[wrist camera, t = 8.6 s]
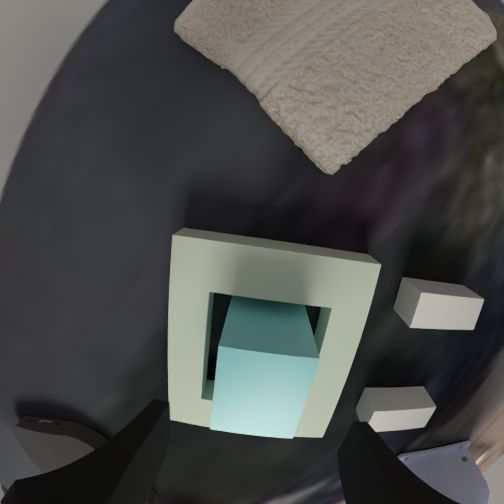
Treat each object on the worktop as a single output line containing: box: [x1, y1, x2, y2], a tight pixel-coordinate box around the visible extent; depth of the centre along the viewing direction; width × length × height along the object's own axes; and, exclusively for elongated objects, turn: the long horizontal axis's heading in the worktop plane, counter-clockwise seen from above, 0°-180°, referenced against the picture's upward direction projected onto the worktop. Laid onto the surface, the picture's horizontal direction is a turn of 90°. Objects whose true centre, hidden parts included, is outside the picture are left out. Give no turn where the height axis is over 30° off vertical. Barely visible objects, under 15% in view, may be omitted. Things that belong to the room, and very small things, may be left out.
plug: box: [210, 295, 320, 439], centre depth 14 cm, size 4×5×6 cm
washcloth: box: [174, 0, 497, 175], centre depth 11 cm, size 12×18×3 cm, turn 133°
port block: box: [168, 228, 381, 437], centre depth 16 cm, size 10×12×2 cm
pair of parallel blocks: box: [356, 277, 484, 432], centre depth 16 cm, size 5×10×2 cm, turn 172°
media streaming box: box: [14, 416, 157, 504], centre depth 21 cm, size 15×15×3 cm
